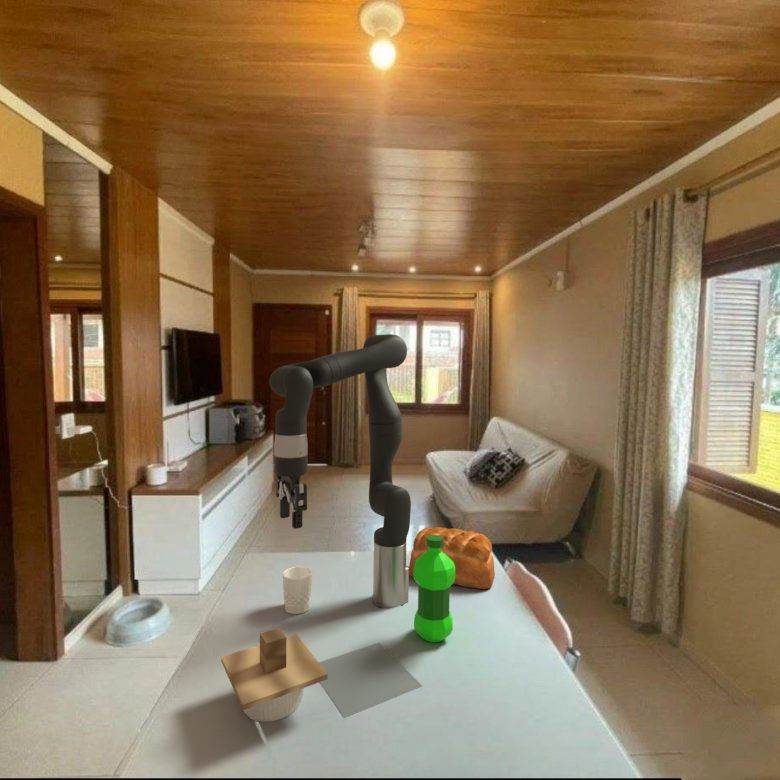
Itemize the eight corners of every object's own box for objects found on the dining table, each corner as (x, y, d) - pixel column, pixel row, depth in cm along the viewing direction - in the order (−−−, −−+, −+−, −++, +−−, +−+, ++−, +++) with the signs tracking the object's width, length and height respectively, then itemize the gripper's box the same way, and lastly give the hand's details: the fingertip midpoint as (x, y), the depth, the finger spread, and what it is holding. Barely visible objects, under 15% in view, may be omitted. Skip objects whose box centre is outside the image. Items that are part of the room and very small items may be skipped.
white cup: (276, 611, 129) (276, 575, 128) (293, 598, 136) (293, 564, 136) (301, 618, 126) (302, 581, 125) (317, 604, 133) (317, 569, 133)
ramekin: (272, 739, 85) (272, 702, 85) (222, 711, 92) (222, 676, 92) (319, 696, 96) (320, 663, 96) (272, 673, 103) (272, 642, 103)
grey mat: (379, 644, 114) (379, 642, 114) (422, 688, 99) (422, 685, 99) (308, 668, 105) (308, 665, 105) (343, 720, 90) (343, 717, 90)
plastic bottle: (403, 637, 117) (405, 538, 116) (430, 621, 125) (432, 527, 124) (436, 655, 110) (438, 549, 109) (462, 636, 118) (464, 537, 117)
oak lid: (296, 638, 105) (296, 607, 104) (327, 679, 91) (327, 643, 91) (221, 661, 96) (221, 627, 96) (243, 710, 83) (243, 671, 82)
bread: (491, 593, 142) (492, 542, 141) (405, 579, 150) (406, 531, 149) (495, 574, 155) (497, 527, 154) (416, 562, 163) (417, 518, 162)
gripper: (318, 457, 106) (317, 529, 107) (295, 447, 118) (295, 511, 119) (285, 460, 102) (285, 534, 103) (265, 449, 114) (265, 516, 115)
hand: (290, 522), depth 111 cm, fingers open, 8 cm apart
